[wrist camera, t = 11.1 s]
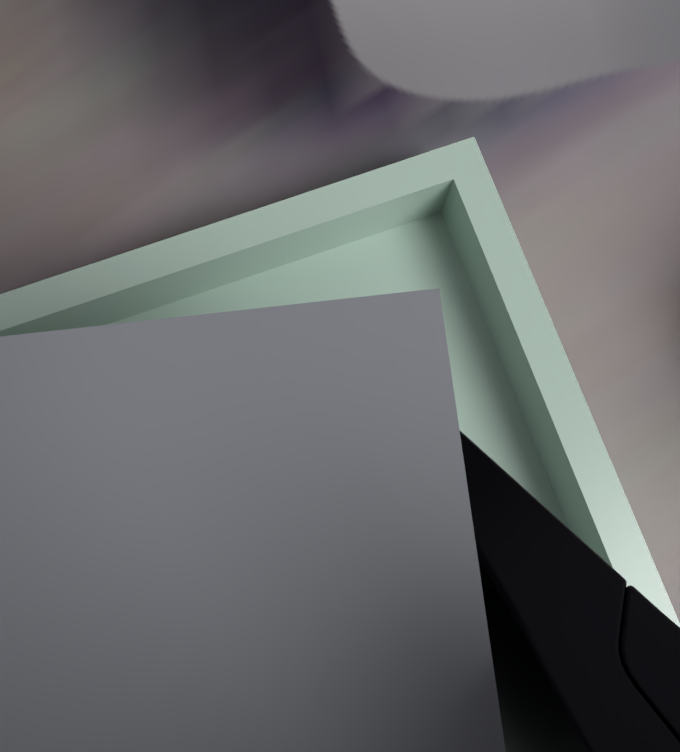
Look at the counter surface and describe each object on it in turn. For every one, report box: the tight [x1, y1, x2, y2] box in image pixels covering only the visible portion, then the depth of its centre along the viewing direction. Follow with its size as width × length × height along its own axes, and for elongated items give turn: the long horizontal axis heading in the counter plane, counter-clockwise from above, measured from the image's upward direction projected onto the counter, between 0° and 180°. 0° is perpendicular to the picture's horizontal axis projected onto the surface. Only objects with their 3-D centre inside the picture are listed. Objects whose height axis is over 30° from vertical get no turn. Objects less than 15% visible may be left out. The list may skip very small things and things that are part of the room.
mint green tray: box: [0, 137, 680, 627], centre depth 15 cm, size 16×16×3 cm
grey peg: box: [0, 288, 506, 752], centre depth 9 cm, size 5×5×10 cm
